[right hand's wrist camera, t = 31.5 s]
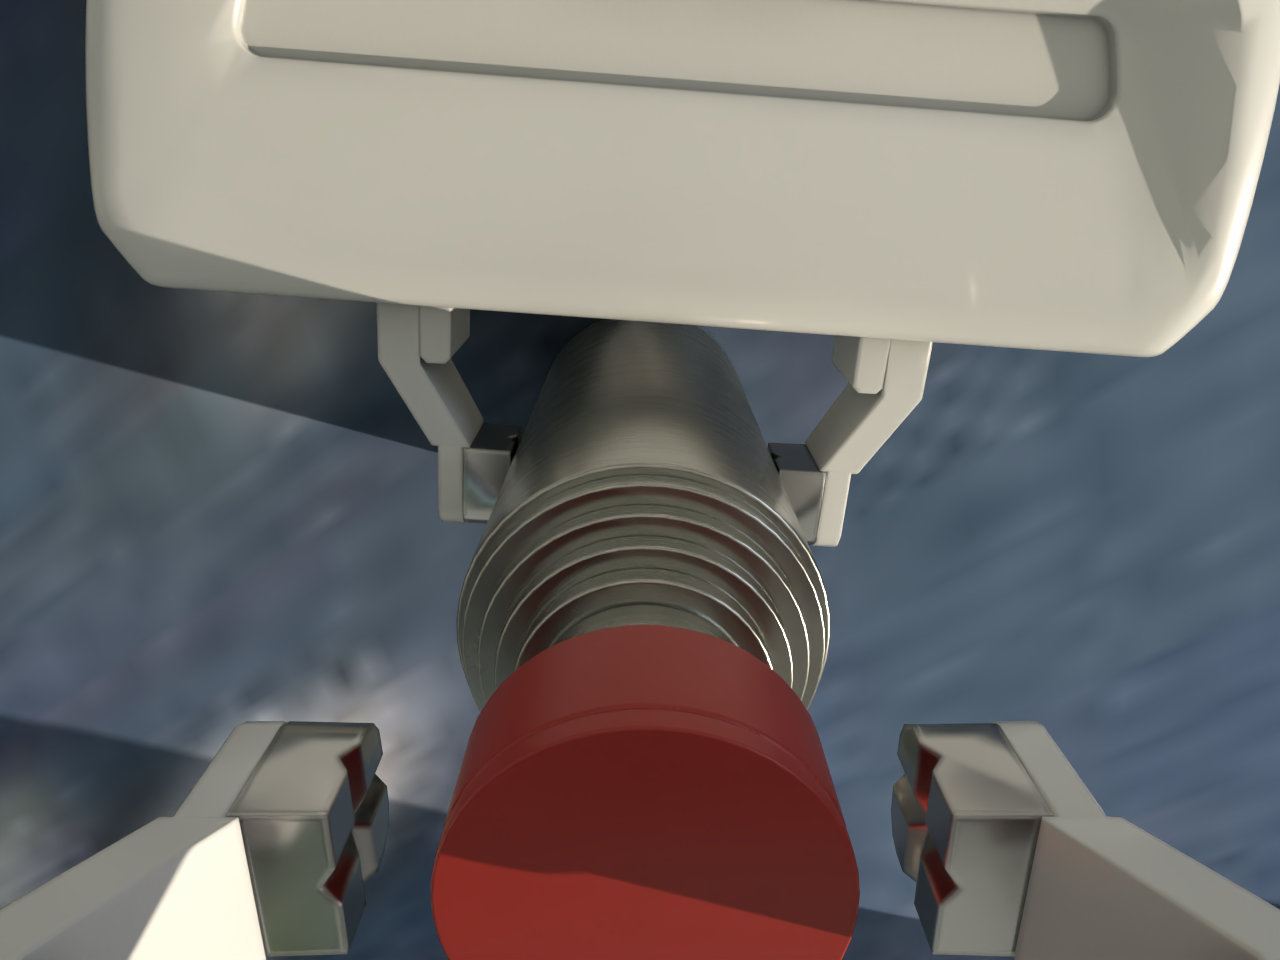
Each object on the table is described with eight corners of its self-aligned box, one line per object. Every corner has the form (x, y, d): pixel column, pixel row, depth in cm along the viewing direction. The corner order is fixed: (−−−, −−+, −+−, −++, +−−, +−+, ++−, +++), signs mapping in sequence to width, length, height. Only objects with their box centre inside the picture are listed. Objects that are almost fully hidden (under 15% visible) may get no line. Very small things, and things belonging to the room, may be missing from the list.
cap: (747, 950, 11) (766, 1098, 9) (427, 868, 11) (386, 1007, 9) (880, 682, 10) (932, 797, 8) (521, 575, 9) (494, 674, 8)
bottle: (576, 526, 26) (483, 1081, 10) (513, 343, 24) (290, 694, 9) (763, 476, 25) (953, 984, 10) (714, 285, 23) (853, 547, 8)
